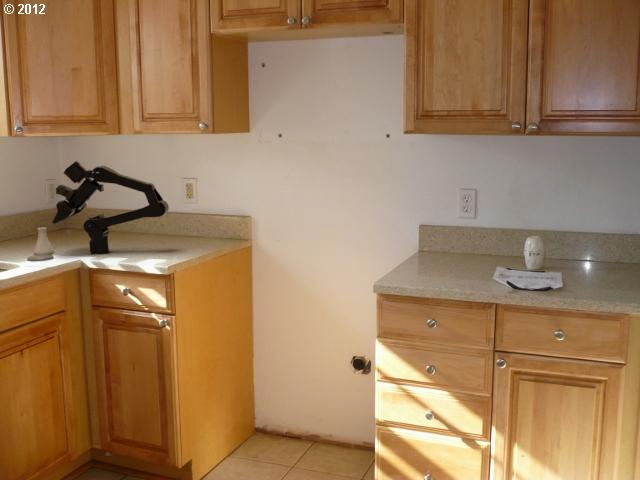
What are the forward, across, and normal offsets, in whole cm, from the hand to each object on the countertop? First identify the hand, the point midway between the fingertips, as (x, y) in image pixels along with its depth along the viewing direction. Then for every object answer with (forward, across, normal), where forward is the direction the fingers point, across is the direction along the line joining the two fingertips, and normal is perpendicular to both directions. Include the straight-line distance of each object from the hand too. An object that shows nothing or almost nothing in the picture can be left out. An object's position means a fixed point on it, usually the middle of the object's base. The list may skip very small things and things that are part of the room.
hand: (57, 221), depth 271 cm
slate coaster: (+11, +11, +6) cm, 17 cm away
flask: (+13, 0, +5) cm, 14 cm away
